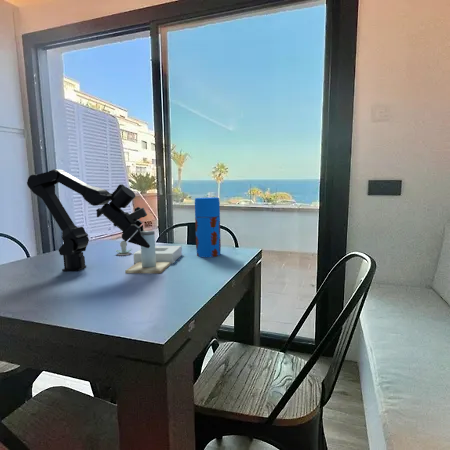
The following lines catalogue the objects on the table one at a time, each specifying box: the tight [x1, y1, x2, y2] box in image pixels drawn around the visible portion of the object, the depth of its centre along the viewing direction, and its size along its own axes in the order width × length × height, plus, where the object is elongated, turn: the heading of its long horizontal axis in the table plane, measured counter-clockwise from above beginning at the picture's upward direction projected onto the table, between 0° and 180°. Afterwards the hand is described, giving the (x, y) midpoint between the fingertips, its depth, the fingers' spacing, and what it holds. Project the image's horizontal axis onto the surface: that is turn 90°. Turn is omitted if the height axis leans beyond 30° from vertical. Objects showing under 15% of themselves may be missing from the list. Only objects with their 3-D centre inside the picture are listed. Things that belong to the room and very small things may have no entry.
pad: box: [125, 262, 172, 274], centre depth 123 cm, size 13×13×1 cm
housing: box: [133, 245, 183, 264], centre depth 138 cm, size 16×16×4 cm
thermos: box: [194, 196, 222, 258], centre depth 143 cm, size 11×11×25 cm
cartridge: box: [140, 230, 156, 268], centre depth 122 cm, size 5×5×13 cm
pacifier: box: [115, 240, 133, 256], centre depth 149 cm, size 7×6×6 cm
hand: (150, 244), depth 122 cm, fingers open, 9 cm apart
